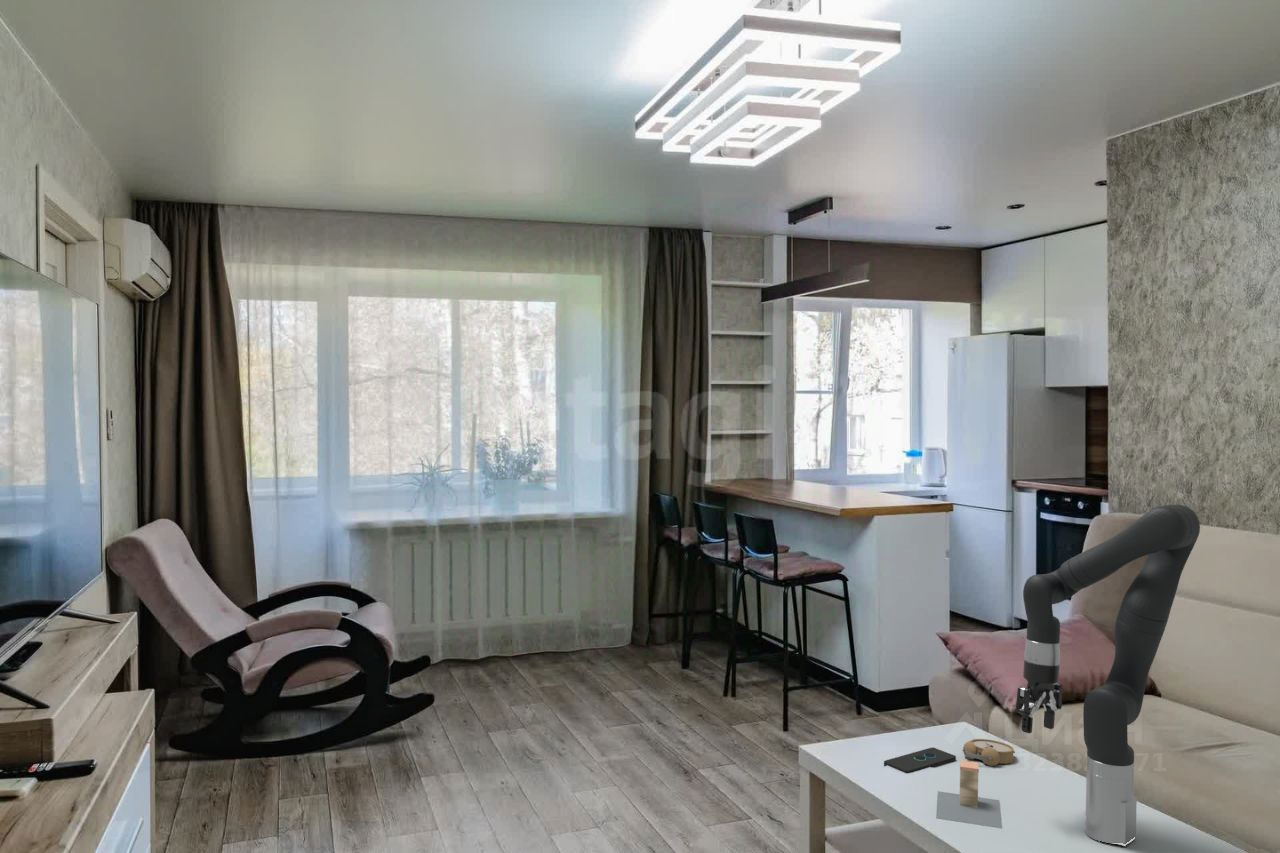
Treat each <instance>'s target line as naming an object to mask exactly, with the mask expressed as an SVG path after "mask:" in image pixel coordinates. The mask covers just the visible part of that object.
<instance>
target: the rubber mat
mask: <svg viewBox="0 0 1280 853" xmlns="http://www.w3.org/2000/svg"><path fill="white" fill-rule="evenodd" d="M936 796H937V800H936V815H935V816H936V817H935V819H936V820H937V819H938V820H943V821H944V820H945V821H951V822H958V823H963V824H968V825H969V824H970V825H975V826H976V825H977V826H982V827H990V828H996V829H1003V823H1002V813H1001V804H1000V799H995V798H987V797H980V796H978V808H976V807H970V806H963V805H960V793H953V792H944V791H939V790H938V791H937V795H936Z"/></svg>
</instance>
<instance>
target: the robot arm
mask: <svg viewBox="0 0 1280 853" xmlns="http://www.w3.org/2000/svg"><path fill="white" fill-rule="evenodd" d="M1200 523H1201V522H1200V520H1199V517H1198V515H1197V513H1196V512H1195V511H1194V510H1193V509H1192V508H1190V507H1189V506H1187V505H1183V504H1166V505H1165V504H1164V505H1159V506H1155V507H1153V508H1151V509H1150V510H1148V511H1147V512H1146V513H1144V514H1142V516H1141V517H1139V518H1138V519H1137V520H1135V521H1134V522H1133V523H1132V524H1130V525H1129V526H1127V527H1126V528H1125V529H1123V530H1121V531H1120V532H1118V533H1117V534H1116V535H1114V536H1113V537H1110V538H1108V539H1107V540H1105V541H1103V542H1101V543H1099V544H1097V545H1095V546H1093V547H1091V548H1089V549H1086V550H1085V551H1083V552H1081V553H1078V554H1077V555H1075V556H1073V557H1071V558H1069V559H1067V560H1066V561H1064V562H1063V563H1062V564H1061V565H1060V567H1059V568H1058V569H1055V570H1054V571H1051V572H1049V573H1044V574H1034V575H1031V576H1029V577H1028V578H1027V579H1026V581H1025V583H1024V586H1023V590H1022V594H1023V595H1022V597H1023V598H1022V599H1023V604H1024V611H1025V614H1026V618H1027V623H1026V625H1027V626H1026V638H1025V639H1026V640H1025V646H1024V657H1023V658H1024V659H1023V673H1022V674H1023V675H1022V676H1023V678H1024V680H1026V681H1027V684H1026V686H1025V687H1023V686H1018V687H1017V692H1016V693H1017V694H1016V703H1015V704H1016V706H1015V713H1018V714H1020V715H1021V732H1023V733H1027V734H1032V733H1033V725H1034V724H1033V722H1034V720H1033V719H1034V718H1033V717H1034V713H1035V712H1036V711H1037V710H1039V708H1040V706H1043V708H1044V713H1043V727H1044V728H1046V729H1049V730H1054V728H1055V718H1056V713H1057V712H1058V710H1062V708H1063V707H1062V706H1063V684H1062V683H1059V680H1060V679H1059V677H1060V660H1061V659H1060V658H1061V648H1060V636H1061V635H1060V634H1061V622H1060V619H1059V618H1058V617H1057V616H1054V612H1053V610H1054V609H1053V605H1056V604H1059V603H1062V602H1064V601H1066V600H1068V599H1070V598H1071V597H1074V595H1076V594H1077V593H1079V592H1080V591H1081V590H1083V589H1085V588H1088V587H1090V586H1092V585H1094V584H1096V583H1098V582H1100V581H1102V580H1104V579H1106V578H1108V577H1109V576H1111V575H1112V574H1114V573H1116V572H1117V571H1118V570H1120V569H1121V568H1123V567H1124V566H1126V565H1128V564H1130V563H1131V562H1133V561H1136V560H1137V559H1140V558H1141V557H1145V556H1147V557H1146V560H1145V561H1144V564H1143V566H1142V567H1141V569H1140V570H1139V571H1138V573H1137V574H1136V576H1135V577H1134V579H1133V580H1132V582H1131V583H1130V585H1129V587H1128V588H1127V590H1126V592H1125V594H1124V596H1123V598H1122V601H1121V602H1120V606H1119V609H1118V611H1117V612H1118V613H1117V616H1116V619H1115V623H1114V633H1113V634H1114V636H1113V637H1114V651H1115V652H1114V659H1113V663H1112V665H1111V669H1110V671H1109V673H1108V676H1107V678H1106V680H1105V681H1104V684H1102V685H1100V686H1098V687H1096V688H1094V689H1092V690H1090V691H1088V693H1087V694H1086V696H1085V698H1084V703H1083V714H1082V715H1083V716H1082V717H1083V719H1082V722H1083V740H1084V744H1085V745H1086V752H1087V753H1086V777H1085V778H1086V780H1085V781H1086V782H1085V786H1086V787H1085V819H1084V820H1085V821H1084V823H1085V824H1084V828H1085V829H1084V832H1085V835H1087V836H1088V837H1089V838H1091V839H1093V840H1095V841H1097V840H1098V842H1100V841H1102V842H1107V843H1123V844H1126V843H1127V842H1129V841H1130V840H1131V839H1133V838H1134V837H1136V838H1137V833H1136V832H1137V803H1138V802H1137V801H1138V800H1137V799H1138V798H1137V795H1136V794H1135V795H1134V784H1135V783H1134V778H1135V776H1134V775H1135V750H1134V748H1133V747H1132V746H1131V745H1130V744H1129V742H1128V741H1129V740H1128V739H1129V738H1128V726H1129V725H1131V724H1132V723H1134V722H1135V721H1136V720H1137V718H1139V716H1140V713H1141V711H1142V707H1143V703H1144V697H1145V691H1146V685H1147V681H1148V676H1149V674H1150V670H1151V667H1152V665H1153V662H1154V660H1155V657H1156V655H1157V652H1158V649H1159V646H1160V644H1161V641H1162V638H1163V635H1164V633H1165V630H1166V627H1167V624H1168V620H1169V617H1170V614H1171V610H1172V606H1173V604H1174V600H1175V597H1176V594H1177V590H1178V588H1179V584H1180V580H1181V575H1182V573H1183V570H1184V568H1185V566H1186V563H1187V561H1188V559H1189V557H1190V555H1191V554H1192V550H1193V549H1194V547H1195V545H1196V543H1197V540H1198V538H1199V535H1200V532H1201V524H1200ZM1022 704H1023V705H1022ZM1102 842H1101V843H1102Z"/></svg>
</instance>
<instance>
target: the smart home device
mask: <svg viewBox="0 0 1280 853" xmlns="http://www.w3.org/2000/svg"><path fill="white" fill-rule="evenodd" d="M956 761H957V756H956V755H955V754H952V753H949V752H946V751H944V750H941V749H938V748H936V747H928V748H923V749H920V750H918V751H913V752H911V753H908V754H904V755H903V754H902V755H899V756H897V757H894V758H889V759H887V760H883V767H885V766H886V767H887V766H888V767H890V768H892V769H894V770H897V771H899V772H902V773H904V774H910V773H914V772H919V771H921V770H925V769H929V768H933V769H934V768H937V767H940V766H941V767H942V766H944V765H947V764H950V763H953V762H956Z"/></svg>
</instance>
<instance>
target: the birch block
mask: <svg viewBox="0 0 1280 853" xmlns="http://www.w3.org/2000/svg"><path fill="white" fill-rule="evenodd" d="M979 769H980V768H979V762H974V761H967V760H959V794H960V805H963V806H970V807H976V808H978V797H979V773H980V770H979Z"/></svg>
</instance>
